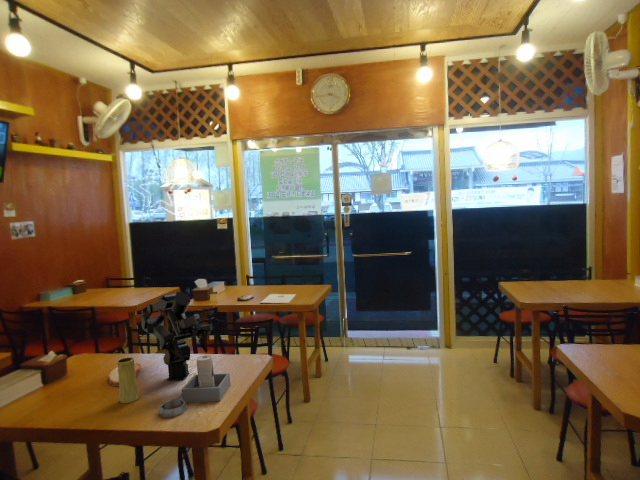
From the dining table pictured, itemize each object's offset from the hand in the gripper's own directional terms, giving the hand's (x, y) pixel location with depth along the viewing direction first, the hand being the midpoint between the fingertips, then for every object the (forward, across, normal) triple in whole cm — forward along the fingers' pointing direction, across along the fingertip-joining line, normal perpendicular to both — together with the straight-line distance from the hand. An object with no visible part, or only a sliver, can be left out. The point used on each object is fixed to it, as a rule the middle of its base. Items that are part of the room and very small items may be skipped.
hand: (195, 355), depth 155 cm
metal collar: (+16, -14, +1) cm, 22 cm away
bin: (+14, 0, +4) cm, 14 cm away
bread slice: (-15, -13, +34) cm, 39 cm away
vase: (+1, -21, +16) cm, 26 cm away
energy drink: (+13, 0, +3) cm, 13 cm away
